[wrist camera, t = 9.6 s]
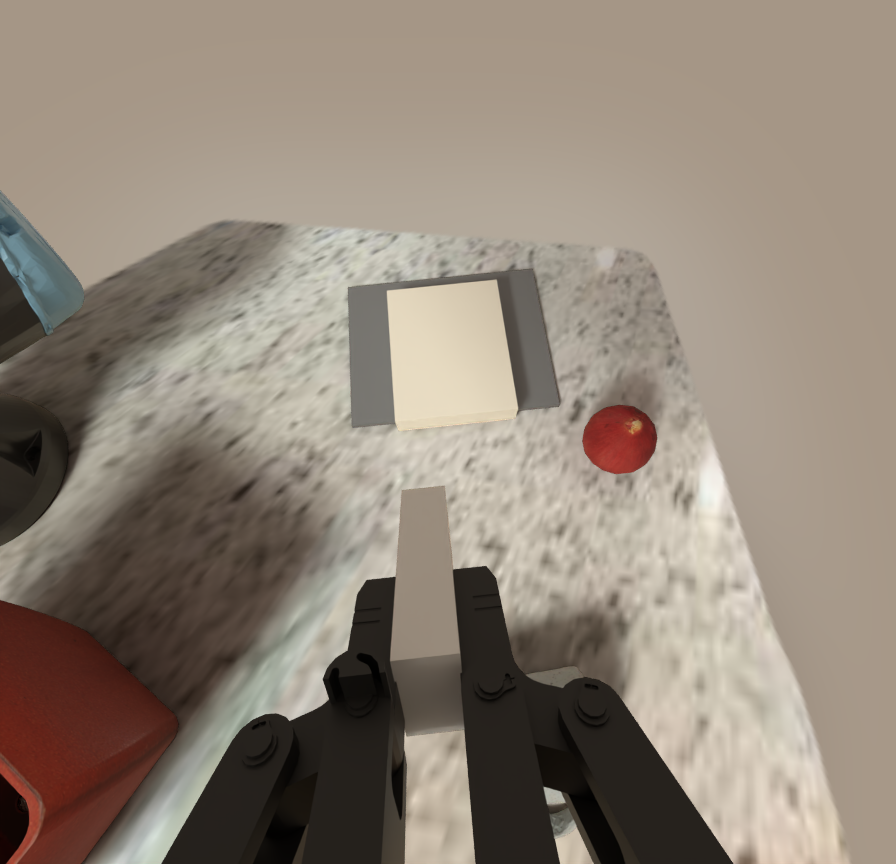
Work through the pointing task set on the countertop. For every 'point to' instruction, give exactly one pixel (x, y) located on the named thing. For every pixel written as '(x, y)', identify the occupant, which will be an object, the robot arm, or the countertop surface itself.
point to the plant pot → (68, 738)
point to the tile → (449, 356)
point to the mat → (374, 354)
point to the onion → (619, 439)
